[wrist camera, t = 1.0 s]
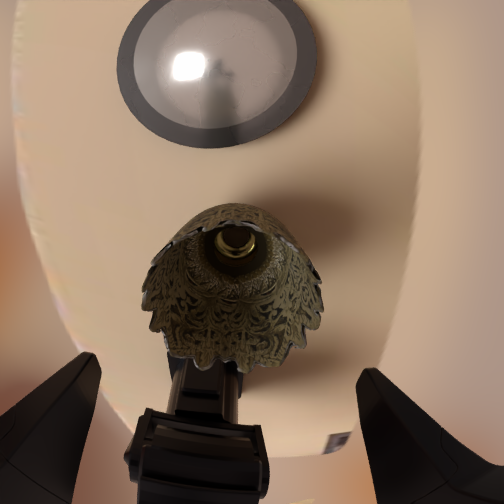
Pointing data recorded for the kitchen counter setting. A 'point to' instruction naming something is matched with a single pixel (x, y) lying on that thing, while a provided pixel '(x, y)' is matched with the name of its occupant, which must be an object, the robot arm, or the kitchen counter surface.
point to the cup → (233, 291)
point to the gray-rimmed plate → (216, 68)
